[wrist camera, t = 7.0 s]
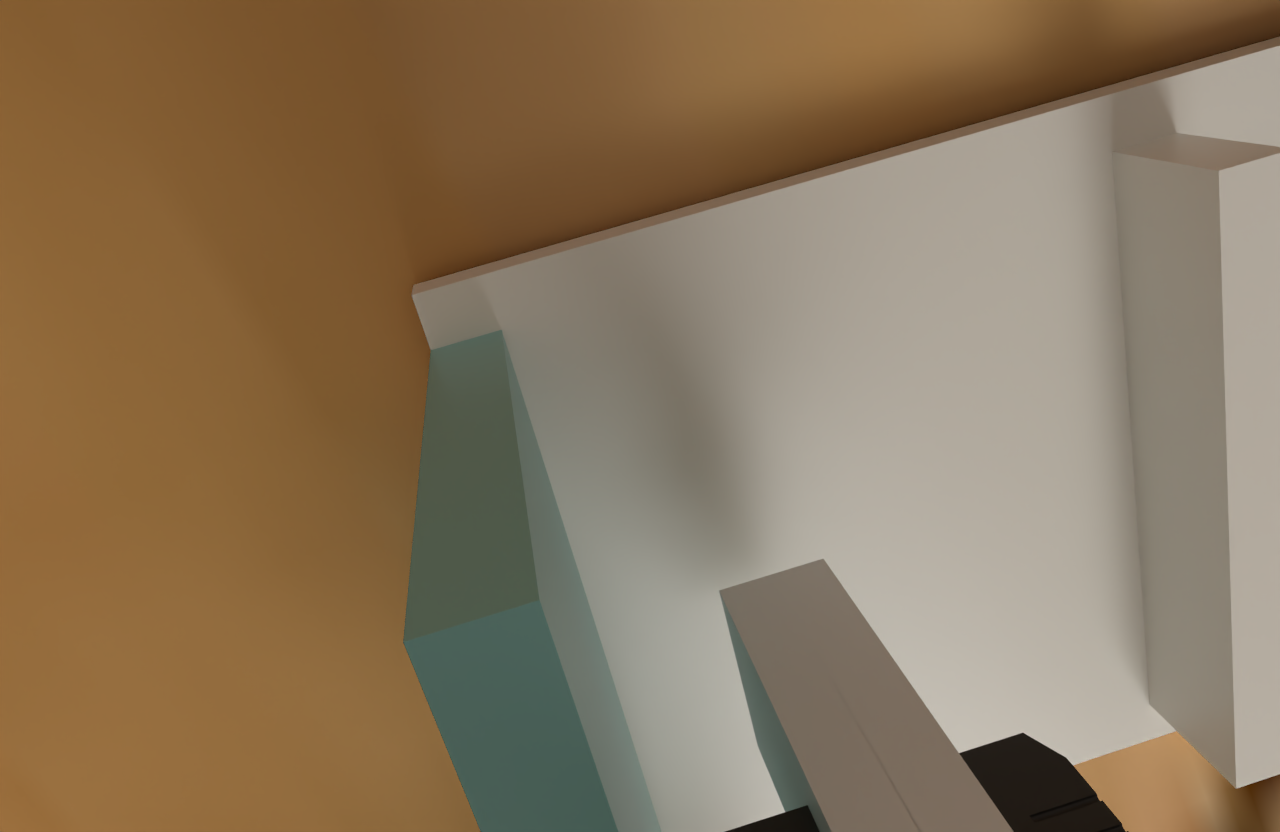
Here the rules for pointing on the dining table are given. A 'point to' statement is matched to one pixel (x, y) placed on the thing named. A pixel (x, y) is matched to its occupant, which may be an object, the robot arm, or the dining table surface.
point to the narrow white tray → (871, 456)
